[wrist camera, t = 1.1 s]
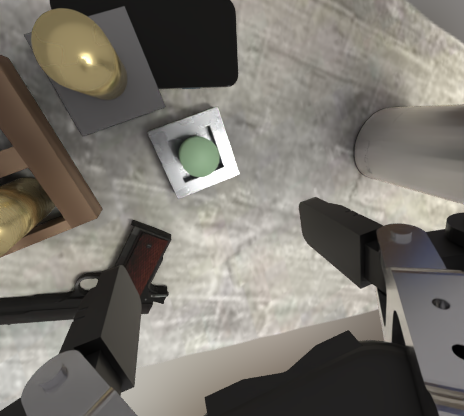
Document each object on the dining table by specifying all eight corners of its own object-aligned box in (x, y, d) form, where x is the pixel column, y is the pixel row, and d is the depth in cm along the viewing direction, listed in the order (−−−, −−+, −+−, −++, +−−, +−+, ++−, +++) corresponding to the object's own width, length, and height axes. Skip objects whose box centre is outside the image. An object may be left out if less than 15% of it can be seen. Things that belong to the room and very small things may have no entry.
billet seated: (39, 171, 22) (-17, 196, 15) (64, 208, 24) (25, 246, 17) (-7, 187, 22) (-87, 222, 14) (23, 224, 23) (-36, 271, 16)
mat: (124, 8, 20) (124, 6, 20) (165, 107, 23) (165, 106, 23) (26, 36, 19) (23, 34, 19) (83, 136, 22) (82, 136, 22)
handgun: (-30, 222, 21) (-8, 332, 24) (172, 225, 26) (167, 318, 29) (-11, 213, 23) (6, 316, 27) (172, 218, 28) (167, 305, 31)
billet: (113, 41, 20) (89, -1, 13) (135, 91, 22) (126, 78, 15) (65, 55, 20) (13, 20, 12) (92, 106, 21) (60, 100, 14)
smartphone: (44, -16, 18) (235, -4, 22) (48, -11, 19) (232, 0, 22) (73, 91, 21) (238, 86, 24) (75, 92, 21) (236, 87, 25)
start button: (207, 130, 23) (211, 131, 22) (219, 165, 25) (224, 168, 23) (172, 143, 23) (174, 146, 21) (187, 178, 24) (189, 183, 23)
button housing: (213, 107, 25) (217, 106, 23) (233, 170, 28) (239, 173, 26) (147, 131, 24) (147, 132, 22) (176, 193, 27) (178, 199, 25)
